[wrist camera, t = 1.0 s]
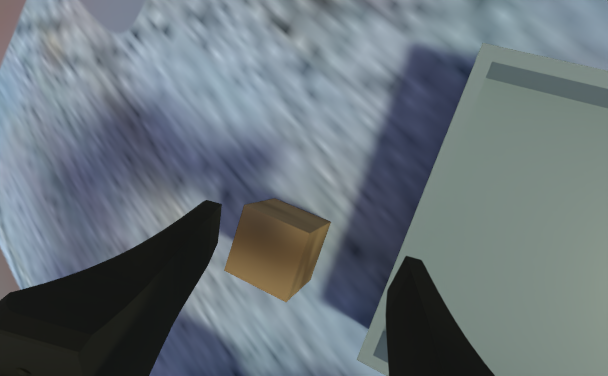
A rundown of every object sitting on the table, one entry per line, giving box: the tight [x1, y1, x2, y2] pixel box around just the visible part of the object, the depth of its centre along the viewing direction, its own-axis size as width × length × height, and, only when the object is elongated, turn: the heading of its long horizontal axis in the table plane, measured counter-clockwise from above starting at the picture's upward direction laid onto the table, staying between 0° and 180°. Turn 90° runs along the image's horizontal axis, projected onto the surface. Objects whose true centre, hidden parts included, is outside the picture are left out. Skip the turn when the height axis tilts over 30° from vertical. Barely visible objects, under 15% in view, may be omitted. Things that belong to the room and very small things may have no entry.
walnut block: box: [224, 198, 331, 302], centre depth 26 cm, size 5×5×5 cm
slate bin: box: [357, 43, 608, 376], centre depth 20 cm, size 20×20×4 cm
